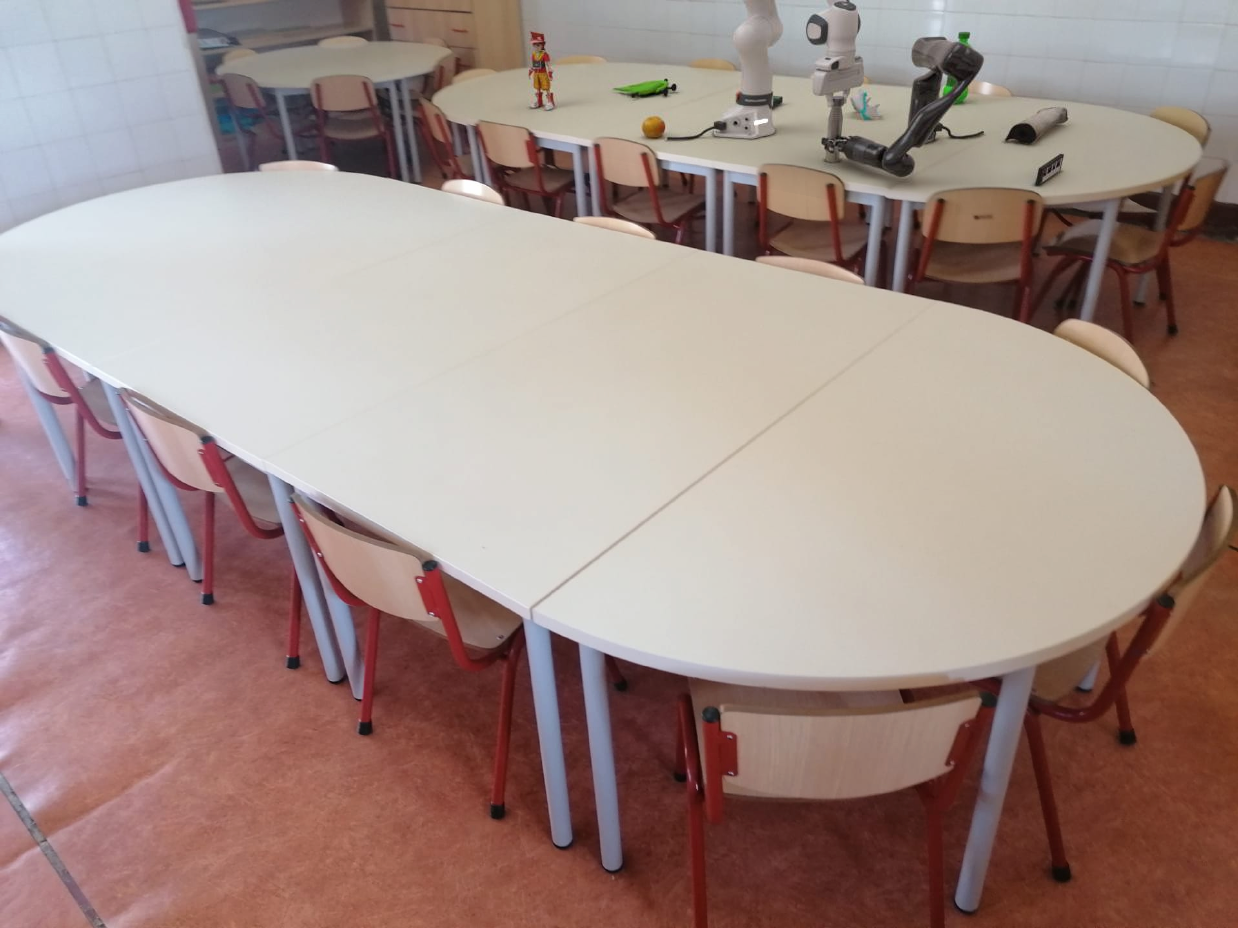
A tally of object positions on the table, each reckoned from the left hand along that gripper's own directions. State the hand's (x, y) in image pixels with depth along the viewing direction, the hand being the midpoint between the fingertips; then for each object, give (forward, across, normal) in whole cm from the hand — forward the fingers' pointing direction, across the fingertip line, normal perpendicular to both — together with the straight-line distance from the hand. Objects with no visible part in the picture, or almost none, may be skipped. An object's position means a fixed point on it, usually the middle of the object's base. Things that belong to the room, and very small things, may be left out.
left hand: (836, 105), depth 291 cm
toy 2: (+17, -16, -129) cm, 132 cm away
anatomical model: (+18, -51, -31) cm, 62 cm away
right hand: (+11, 0, -3) cm, 12 cm away
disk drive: (+18, -34, -70) cm, 80 cm away
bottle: (+18, 0, 0) cm, 18 cm away
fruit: (+18, +24, -67) cm, 74 cm away
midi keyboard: (+18, -32, +59) cm, 69 cm away
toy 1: (+18, +29, -139) cm, 143 cm away
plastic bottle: (+18, -89, -19) cm, 93 cm away
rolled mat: (+18, -71, +29) cm, 79 cm away
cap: (-2, 0, 0) cm, 2 cm away
